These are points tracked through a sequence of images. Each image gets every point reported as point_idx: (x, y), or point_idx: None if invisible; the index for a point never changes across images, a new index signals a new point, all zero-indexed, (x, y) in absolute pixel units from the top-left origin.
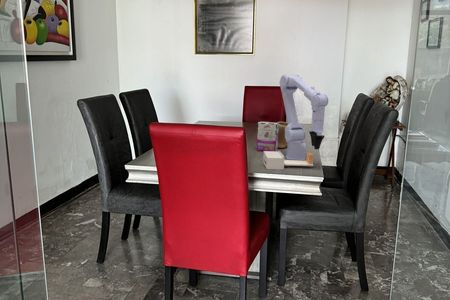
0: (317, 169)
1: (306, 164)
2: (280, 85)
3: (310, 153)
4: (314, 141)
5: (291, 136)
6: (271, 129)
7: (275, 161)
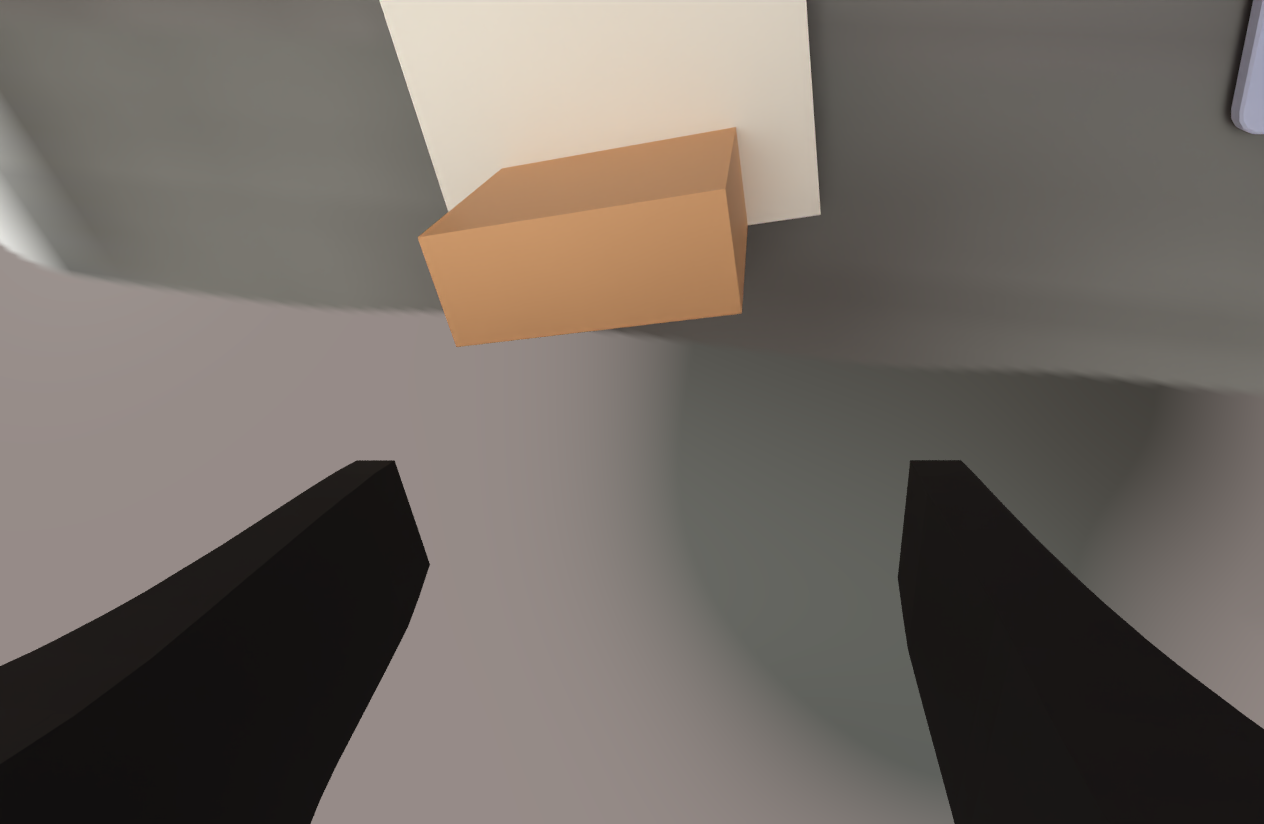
0: None
1: (434, 114)
2: None
3: (628, 290)
4: (65, 643)
5: None
6: None
7: None
